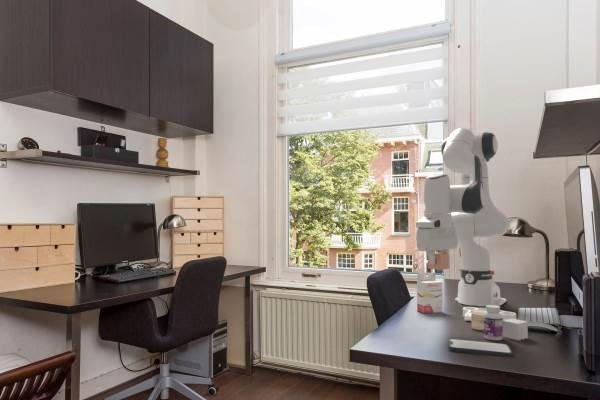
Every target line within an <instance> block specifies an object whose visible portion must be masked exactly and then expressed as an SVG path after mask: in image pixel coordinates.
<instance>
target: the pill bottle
mask: <svg viewBox="0 0 600 400" xmlns="http://www.w3.org/2000/svg"><path fill="white" fill-rule="evenodd" d="M485 308H486V311H487V312H485V313H484V316H483V317H484V330H483V337H484V338H485V339H486V340H490V341H501V340H503V339H504V337H503V316H502V314H501V313H499V312H500V310H501V306H496V305H486V306H485Z"/></svg>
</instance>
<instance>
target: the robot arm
mask: <svg viewBox="0 0 600 400" xmlns="http://www.w3.org/2000/svg"><path fill="white" fill-rule="evenodd" d="M498 146H499V145H498V140H497V138H496V135H495V134H494V133H493V132H475V133H474V132H473V131H471V130H470V129H468V128H464V127H461V128H457V129H455V130H454V131H452V132H451V133H450V135H449V137H446V138H445V139H444V140H443V141H442V142H441V147H440V152H441V155H442V161H443V164H444V166H445V167H446V168H447V169H449V170H450V171H451V172H454V173H458V174H460V184H452V185H451V182H450V177H449V174H448V175H447V174H446V173H443V174H441V173H440V174H439V173H438V174H432V175H428V176H426V177H425V181H424V188H423V203H424V211H423V216H422V217H421V218H420V219H418V220H417V221H416V222H415V227H416V228H417V230H416V234H415V235H416V236H415V237H416V239H415V240H416V242H415V243H416V248H417V250H418V251H419V252H426V253H427V254H426V255H427V258H428V257H429V259H430V264H433V265H434V264H437V259H435V255H434V254H435V253H436V251H440V253H448V254H450V253H449V252H450V250H452V249H453V250H454V249H457V248H459V251H460V257H461V269H460V278H461V279H460V280H459V281H458V286H457V297H455V299H454V300H455V302H458V303H459V304H461V305H462V304H463V305H465V306H470V307H486V305H496V306H499V307H501V306H502V305H503V304H504V303H506V302H507V299H506V298H503V297H501V289H500V287H499V286H498V284H497V283H496V282H495V281H494V279H493V276H494V275H495V270H494V269H491V257H490V256H491V255H490V251H489V250H488V249H487V248H486V247H484V246H483V245H481V244H478V243H477V242H475V240H474V238H495V237H500V236H504V235H505V234H507V232H508V230H509V228H510V227H509V226H510V223H509V219H508V217H507V215H506V214H505V213H503V212H502V211H501V210H500V209H498V208H497V207H496V206H495V204H494V202H493V200H492V199H491V195H490V191H489V190H490V186H489V170H488V164H487V163H488V162H490V160H491V159H492V158H494V156H495V155H496V154H497V151H498Z"/></svg>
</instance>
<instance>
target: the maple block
mask: <svg viewBox="0 0 600 400" xmlns="http://www.w3.org/2000/svg"><path fill="white" fill-rule="evenodd" d="M484 313H485V312H480V311H474V312H473V313H472V314H471V321H470V322H471V329H472V330H477V331H484V317H483V316H484Z"/></svg>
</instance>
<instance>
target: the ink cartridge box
mask: <svg viewBox="0 0 600 400" xmlns="http://www.w3.org/2000/svg"><path fill="white" fill-rule="evenodd" d="M425 276H426V277H425ZM428 276H429V277H428ZM416 297H417V298H416V307H417V308H416V311H418V312H419V313H423V314H431V313H432V314H433V313H442V312H443V281H441V280H436V272H422V273H421V272H418V273H417V281H416Z"/></svg>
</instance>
